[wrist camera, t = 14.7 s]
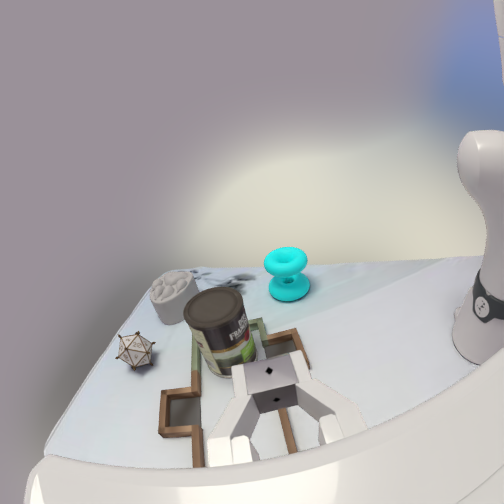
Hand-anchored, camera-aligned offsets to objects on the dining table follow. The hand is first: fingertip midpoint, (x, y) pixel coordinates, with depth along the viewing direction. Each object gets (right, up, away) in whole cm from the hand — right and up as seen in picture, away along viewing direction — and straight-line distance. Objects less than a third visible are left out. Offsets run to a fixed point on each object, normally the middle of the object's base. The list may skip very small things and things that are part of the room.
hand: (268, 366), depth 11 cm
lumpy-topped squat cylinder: (-20, -10, +57) cm, 61 cm away
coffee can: (-5, -16, +40) cm, 43 cm away
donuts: (+9, -5, +55) cm, 56 cm away
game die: (-24, -20, +42) cm, 52 cm away
